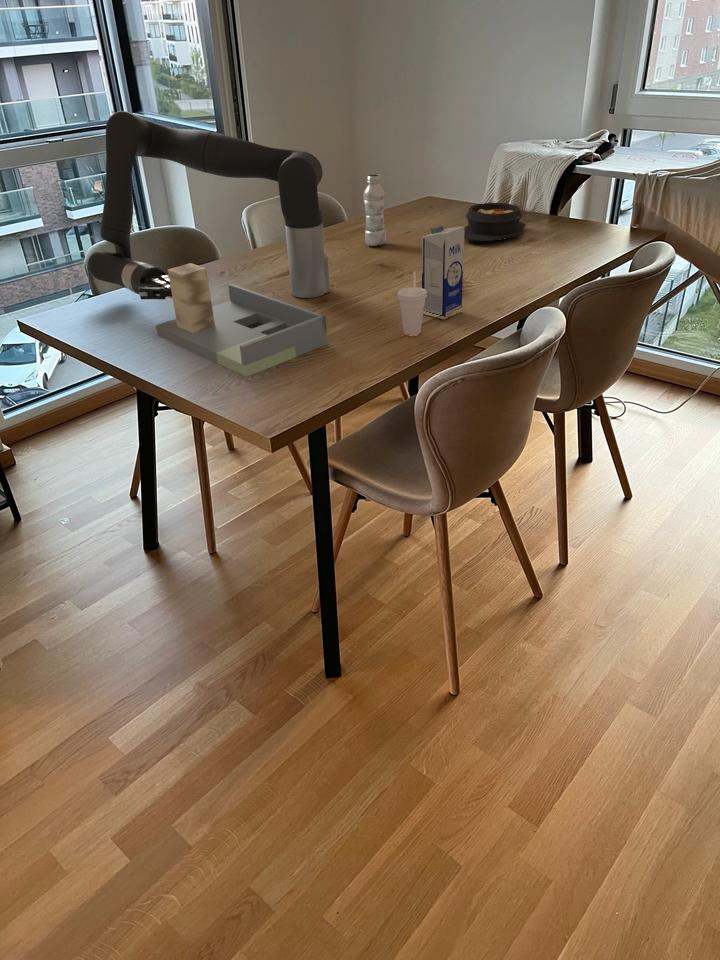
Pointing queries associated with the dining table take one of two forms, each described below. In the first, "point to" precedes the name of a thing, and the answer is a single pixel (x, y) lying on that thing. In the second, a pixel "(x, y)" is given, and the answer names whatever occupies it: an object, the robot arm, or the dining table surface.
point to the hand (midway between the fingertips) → (184, 295)
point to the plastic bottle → (374, 211)
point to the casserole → (493, 222)
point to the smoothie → (412, 307)
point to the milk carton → (443, 269)
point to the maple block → (191, 297)
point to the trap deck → (251, 332)
